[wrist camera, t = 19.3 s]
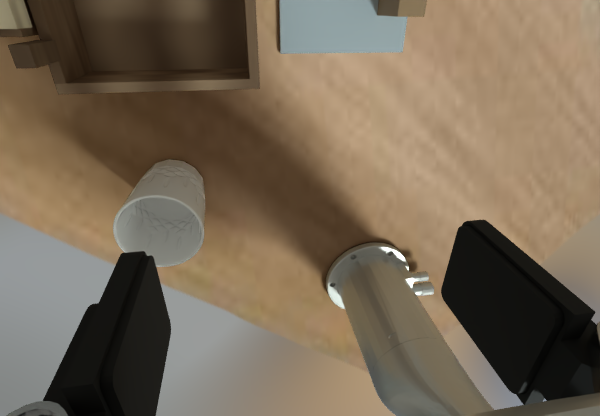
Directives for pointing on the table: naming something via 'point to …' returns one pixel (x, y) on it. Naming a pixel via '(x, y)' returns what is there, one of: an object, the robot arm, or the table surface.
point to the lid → (345, 25)
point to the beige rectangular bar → (14, 15)
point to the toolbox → (141, 44)
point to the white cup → (164, 214)
